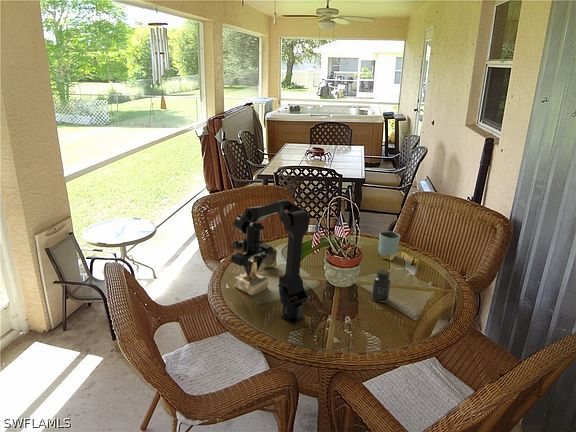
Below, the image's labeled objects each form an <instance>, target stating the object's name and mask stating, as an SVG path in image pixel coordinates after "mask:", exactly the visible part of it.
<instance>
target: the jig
mask: <svg viewBox="0 0 576 432" xmlns="http://www.w3.org/2000/svg"><path fill="white" fill-rule="evenodd" d="M234 287H235V288H237V289H239V290H241V291H242V292H244V293H246V294H248V295H250V296H254V295H256V294H258V293H260V292H262V291H264V290H266V289H268V287H269V279H268V276H266V275H264V276H262V275H261V274H258V273H257V277H256V278H255V279H248V278H247V274H246V272H245V273H242V274H240V275H238V276H234Z"/></svg>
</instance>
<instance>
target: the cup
mask: <svg viewBox="0 0 576 432" xmlns="http://www.w3.org/2000/svg"><path fill="white" fill-rule="evenodd" d="M264 253H265V255H266V256H267V258H265V260H264V261H263V263H262V264H263V267H264V268H266V269H272V267H273V265H274V264H275V263H276V260H277V255H278V250H277V249H275V248H273V253H272V254H270V255H268V254H267V251H265V252H264Z"/></svg>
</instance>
